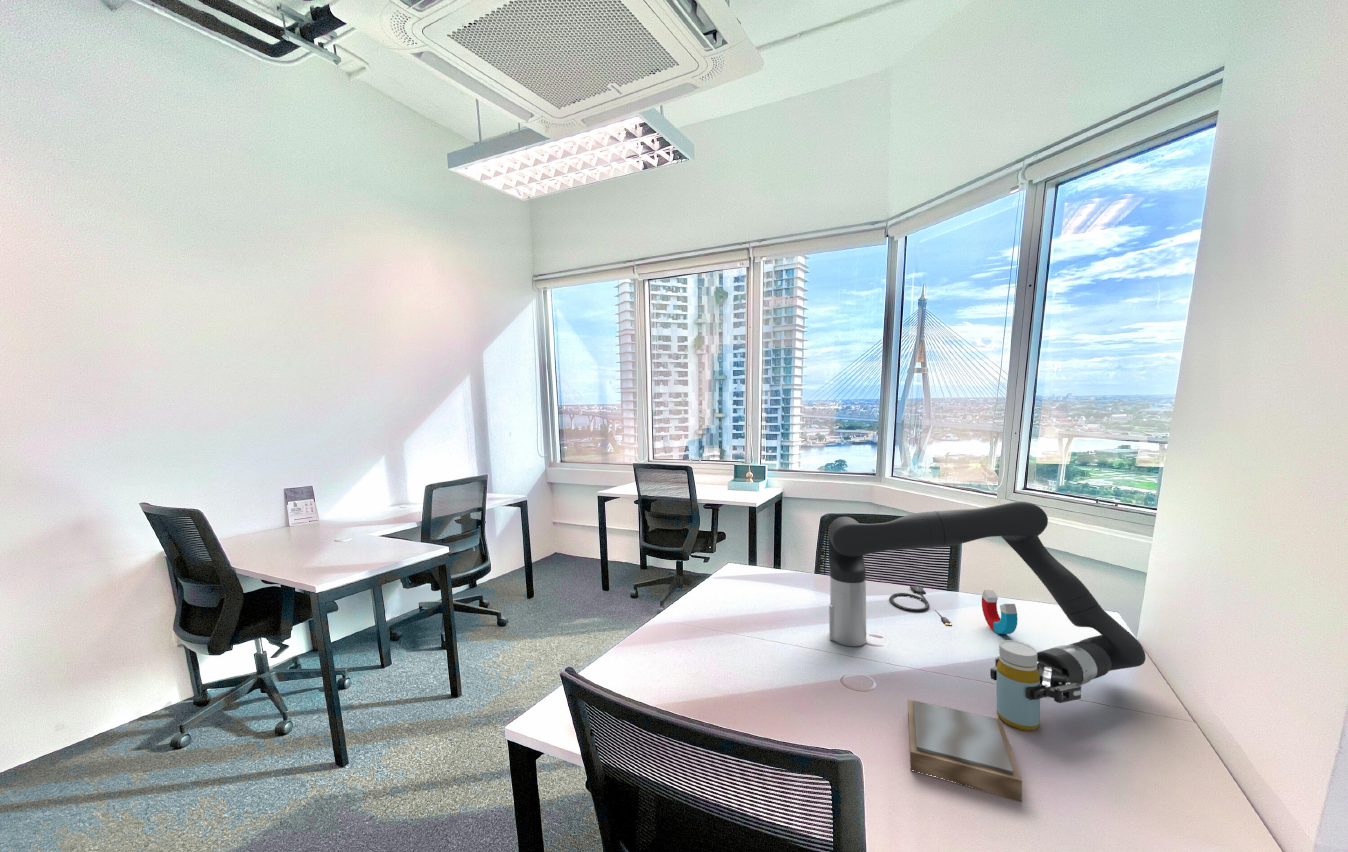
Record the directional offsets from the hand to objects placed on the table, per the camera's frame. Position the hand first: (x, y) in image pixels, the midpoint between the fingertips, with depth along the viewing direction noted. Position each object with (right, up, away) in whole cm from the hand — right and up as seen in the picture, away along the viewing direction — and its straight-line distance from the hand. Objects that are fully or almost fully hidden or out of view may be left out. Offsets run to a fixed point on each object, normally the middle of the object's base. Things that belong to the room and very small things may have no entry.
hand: (1009, 684), depth 93 cm
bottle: (+2, -8, +1) cm, 9 cm away
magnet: (+24, -6, +37) cm, 45 cm away
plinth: (-15, -9, -7) cm, 19 cm away
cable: (+10, -6, +57) cm, 58 cm away
